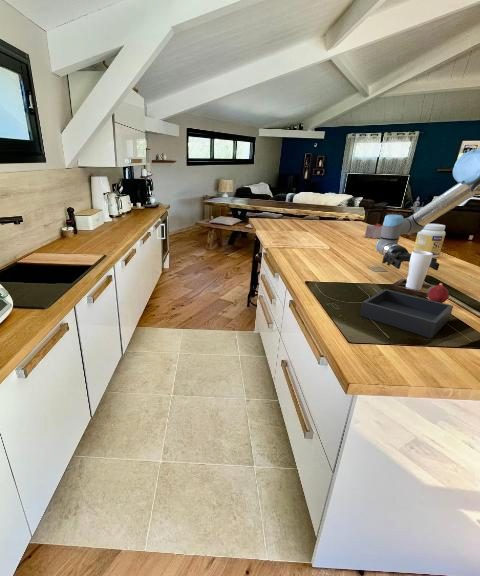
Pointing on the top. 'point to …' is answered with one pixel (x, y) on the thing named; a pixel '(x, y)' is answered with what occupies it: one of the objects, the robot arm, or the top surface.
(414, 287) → the drinking glass
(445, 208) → the robot arm
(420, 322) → the dark grey tray
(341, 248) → the top surface
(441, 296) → the onion
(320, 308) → the top surface
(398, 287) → the small square dish
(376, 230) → the food item
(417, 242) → the supplement tub
